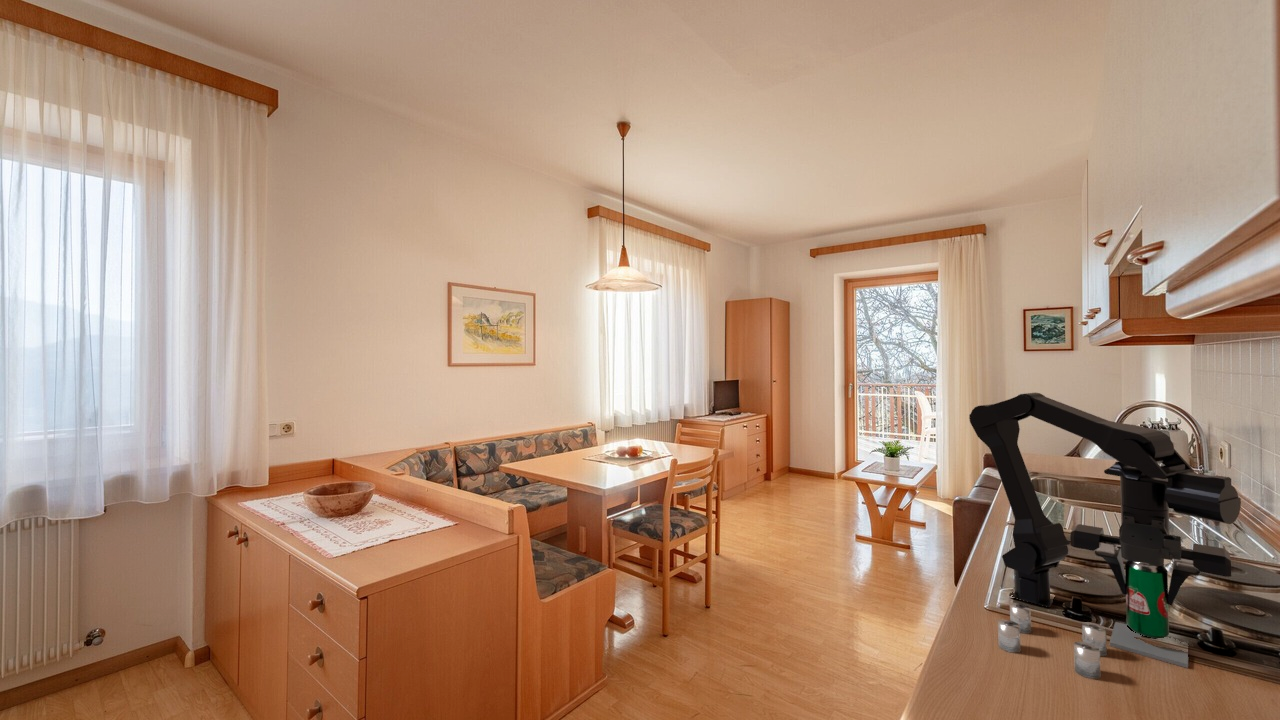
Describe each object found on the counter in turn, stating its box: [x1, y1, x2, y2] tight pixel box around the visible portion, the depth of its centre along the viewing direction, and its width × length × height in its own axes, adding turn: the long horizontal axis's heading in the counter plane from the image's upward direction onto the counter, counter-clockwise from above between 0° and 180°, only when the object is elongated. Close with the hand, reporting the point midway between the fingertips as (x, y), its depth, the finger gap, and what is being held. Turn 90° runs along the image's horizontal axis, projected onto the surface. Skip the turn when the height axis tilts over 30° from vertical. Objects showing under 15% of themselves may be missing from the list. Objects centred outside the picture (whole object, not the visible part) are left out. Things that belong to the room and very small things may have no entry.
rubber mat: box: [1108, 621, 1190, 669], centre depth 86 cm, size 9×9×1 cm
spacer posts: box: [997, 602, 1108, 680], centre depth 86 cm, size 11×13×4 cm
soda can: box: [1124, 560, 1170, 638], centre depth 86 cm, size 5×5×12 cm
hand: (1146, 598), depth 86 cm, fingers closed on soda can, 5 cm apart
